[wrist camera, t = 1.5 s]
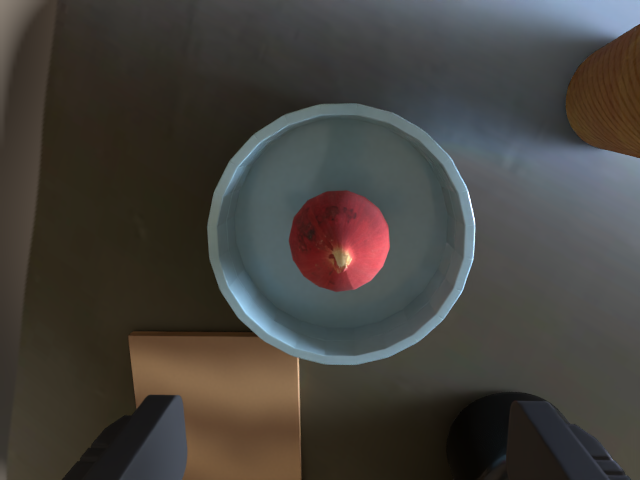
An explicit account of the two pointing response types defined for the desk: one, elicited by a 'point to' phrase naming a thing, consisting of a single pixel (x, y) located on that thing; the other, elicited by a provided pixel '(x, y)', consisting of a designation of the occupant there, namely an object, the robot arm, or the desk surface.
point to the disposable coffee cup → (608, 96)
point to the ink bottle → (483, 437)
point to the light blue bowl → (363, 179)
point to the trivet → (226, 401)
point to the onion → (339, 240)
